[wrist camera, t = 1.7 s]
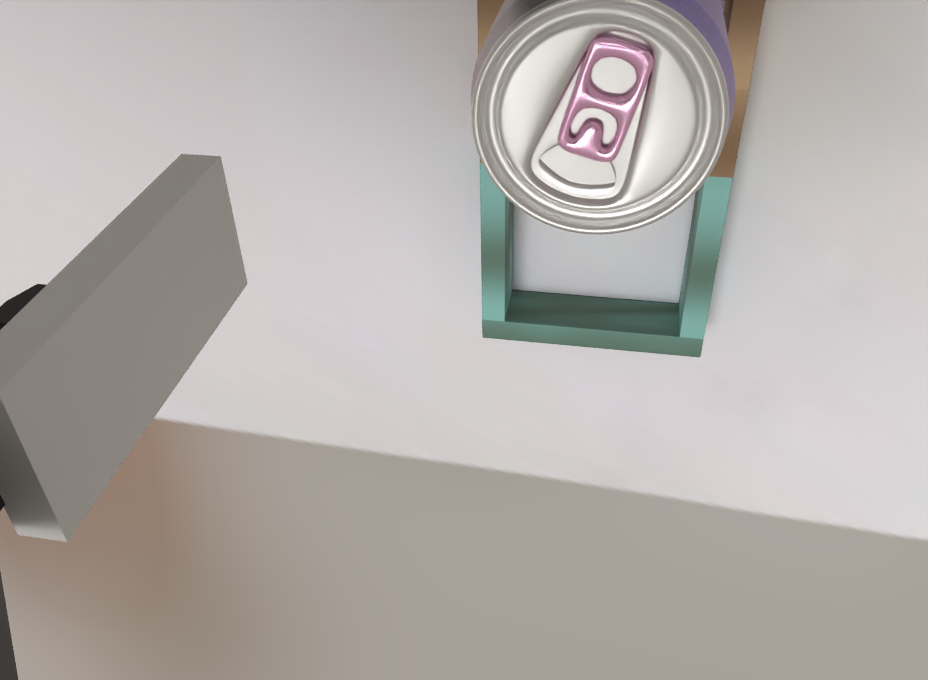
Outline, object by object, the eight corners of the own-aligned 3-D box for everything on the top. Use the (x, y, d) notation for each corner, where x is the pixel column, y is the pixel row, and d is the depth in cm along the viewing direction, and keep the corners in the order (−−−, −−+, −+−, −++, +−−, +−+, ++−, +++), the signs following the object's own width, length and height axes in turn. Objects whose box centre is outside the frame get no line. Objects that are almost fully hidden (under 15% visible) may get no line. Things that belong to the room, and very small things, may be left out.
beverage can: (739, -112, 29) (790, 35, 17) (669, 58, 32) (672, 273, 21) (568, -166, 29) (503, -57, 17) (518, 9, 32) (436, 198, 21)
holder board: (487, -206, 28) (474, -197, 26) (791, -209, 27) (801, -199, 25) (491, 305, 41) (482, 337, 39) (698, 323, 39) (700, 357, 37)
